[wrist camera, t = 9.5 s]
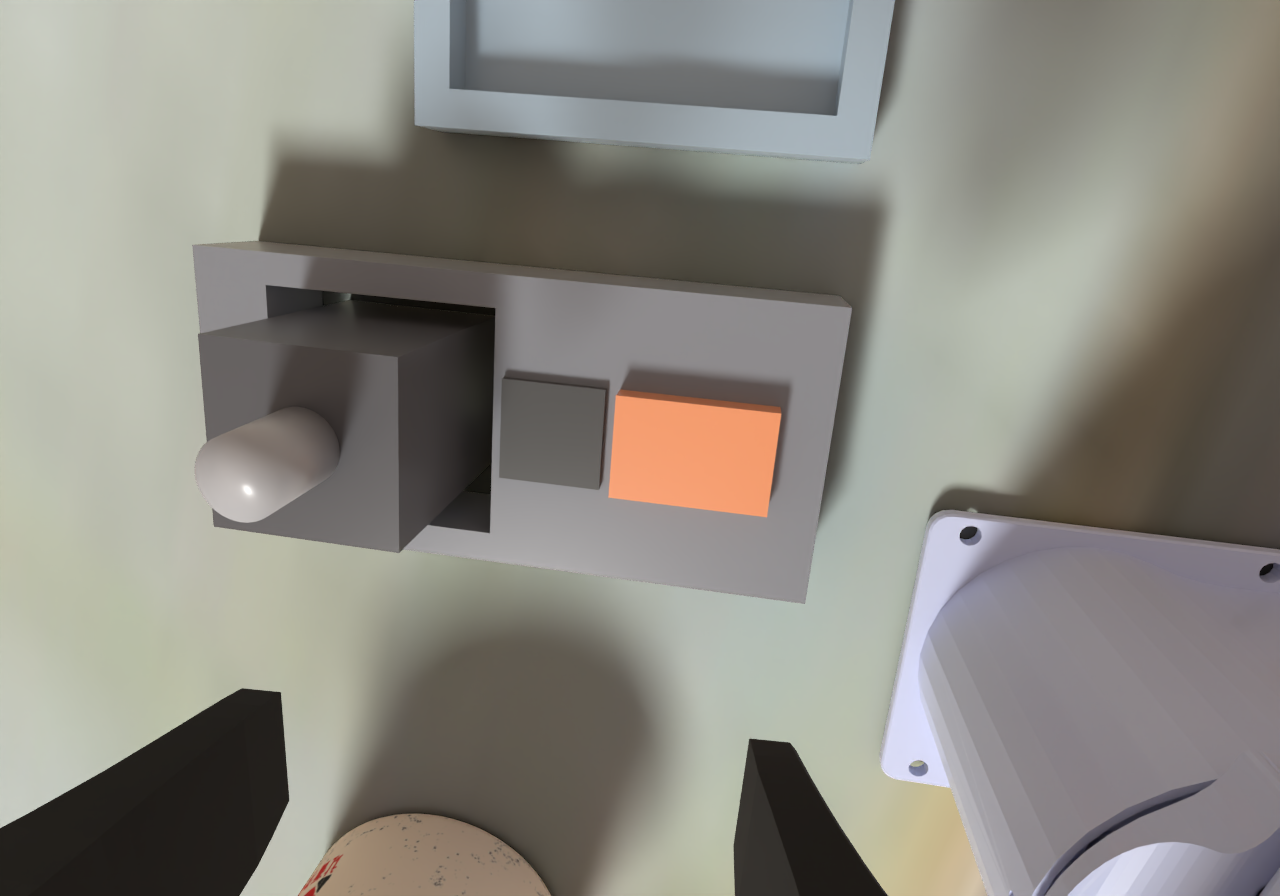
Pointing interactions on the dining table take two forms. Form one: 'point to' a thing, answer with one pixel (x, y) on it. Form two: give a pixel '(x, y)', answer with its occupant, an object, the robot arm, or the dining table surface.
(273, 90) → the dining table surface
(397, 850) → the teacup with lid
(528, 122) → the tray
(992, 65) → the dining table surface
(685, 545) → the power strip
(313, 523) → the plug
